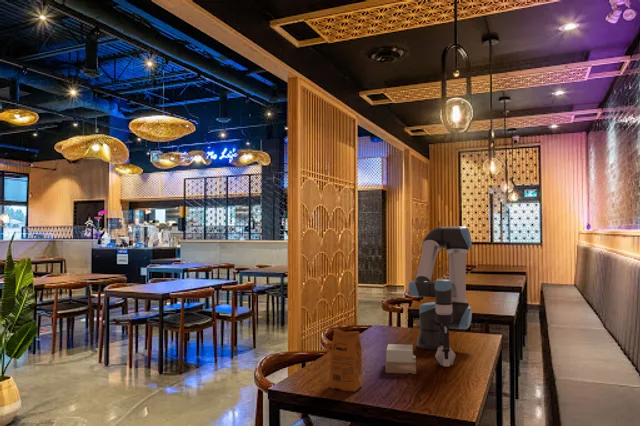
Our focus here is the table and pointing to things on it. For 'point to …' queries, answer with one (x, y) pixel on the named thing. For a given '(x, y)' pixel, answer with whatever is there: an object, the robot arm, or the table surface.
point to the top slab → (399, 353)
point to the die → (440, 355)
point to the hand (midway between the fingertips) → (445, 363)
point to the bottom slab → (401, 366)
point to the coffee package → (346, 361)
